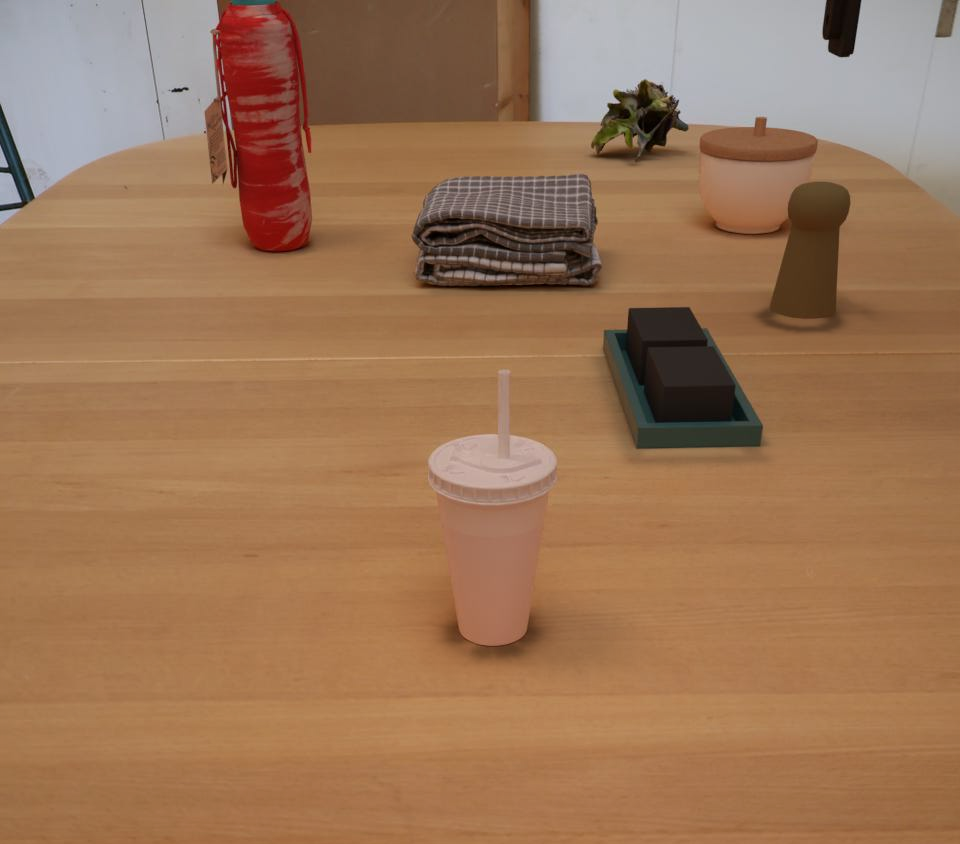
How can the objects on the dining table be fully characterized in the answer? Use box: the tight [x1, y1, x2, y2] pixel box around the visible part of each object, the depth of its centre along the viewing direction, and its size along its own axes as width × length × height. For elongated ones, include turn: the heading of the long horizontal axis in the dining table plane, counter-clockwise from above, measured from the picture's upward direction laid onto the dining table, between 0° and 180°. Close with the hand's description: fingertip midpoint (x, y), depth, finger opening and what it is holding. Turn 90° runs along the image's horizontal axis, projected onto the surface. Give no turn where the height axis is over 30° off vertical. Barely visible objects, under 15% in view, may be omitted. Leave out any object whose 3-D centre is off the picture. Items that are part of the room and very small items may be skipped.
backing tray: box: [602, 327, 764, 450], centre depth 86 cm, size 21×9×2 cm, turn 1°
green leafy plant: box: [590, 78, 690, 163], centre depth 158 cm, size 11×11×12 cm
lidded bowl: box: [698, 116, 819, 235], centre depth 125 cm, size 13×13×11 cm
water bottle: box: [203, 0, 313, 253], centre depth 116 cm, size 12×8×25 cm, turn 81°
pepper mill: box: [769, 181, 851, 320], centre depth 99 cm, size 6×6×11 cm
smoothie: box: [427, 369, 558, 647], centre depth 56 cm, size 6×6×14 cm
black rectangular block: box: [644, 346, 736, 423], centre depth 82 cm, size 8×5×4 cm, turn 2°
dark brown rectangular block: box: [626, 306, 708, 385], centre depth 89 cm, size 8×5×4 cm, turn 2°
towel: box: [410, 173, 603, 287], centre depth 113 cm, size 15×18×8 cm
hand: (919, 51), depth 68 cm, fingers open, 9 cm apart
